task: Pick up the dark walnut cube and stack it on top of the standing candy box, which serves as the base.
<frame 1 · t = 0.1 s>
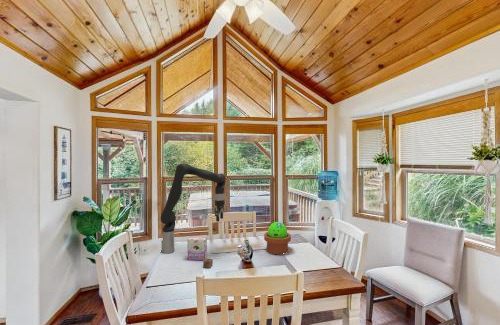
hand: (219, 219, 192), 29 cm above the table, fingers open, 8 cm apart
walnut cube: (207, 266, 176), on the table
potted cactus: (277, 251, 206), on the table
candy box: (197, 259, 189), on the table
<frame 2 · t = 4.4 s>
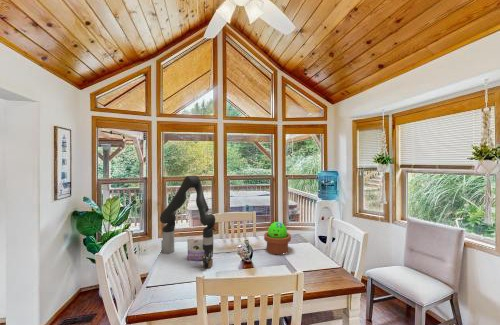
hand: (207, 266, 176), 0 cm above the table, fingers closed on walnut cube, 5 cm apart
walnut cube: (208, 266, 176), on the table, touching gripper
everything else where it was.
when the fingers open (18 cm above the table, at t = 10.1 s): walnut cube moves 1 cm, resting on candy box.
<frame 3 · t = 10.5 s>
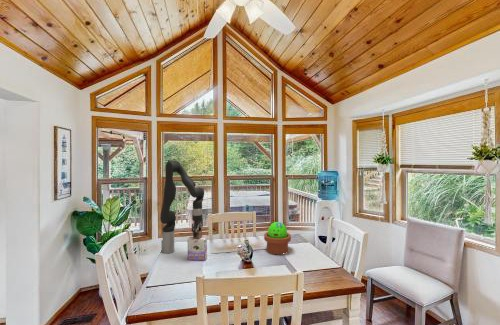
hand: (197, 235, 188), 19 cm above the table, fingers open, 8 cm apart
walnut cube: (197, 237, 188), point 16 cm above the table, touching candy box
candy box: (197, 259, 189), on the table, touching walnut cube
everything else where it was.
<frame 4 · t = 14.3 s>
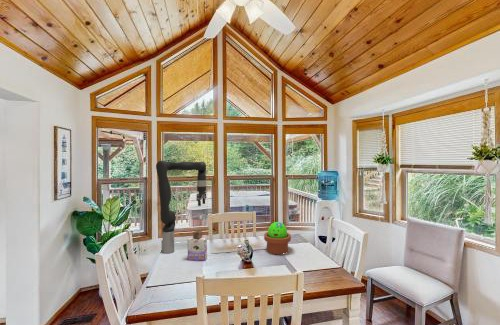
hand: (201, 204, 206), 38 cm above the table, fingers open, 8 cm apart
nothing on the table moved.
at the end: walnut cube 0.2 cm from the candy box (horizontally); walnut cube point 16.4 cm above the table; candy box tilted 0° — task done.
